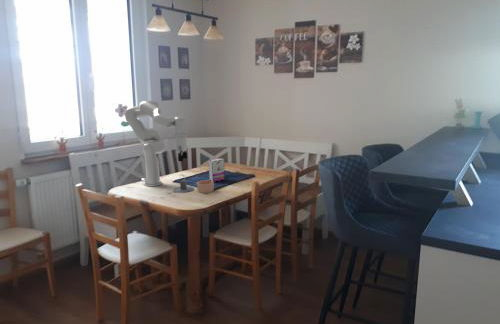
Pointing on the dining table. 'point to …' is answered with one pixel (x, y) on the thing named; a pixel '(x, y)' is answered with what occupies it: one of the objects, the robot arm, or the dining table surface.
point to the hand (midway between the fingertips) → (182, 159)
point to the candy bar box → (216, 170)
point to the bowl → (205, 186)
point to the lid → (183, 187)
